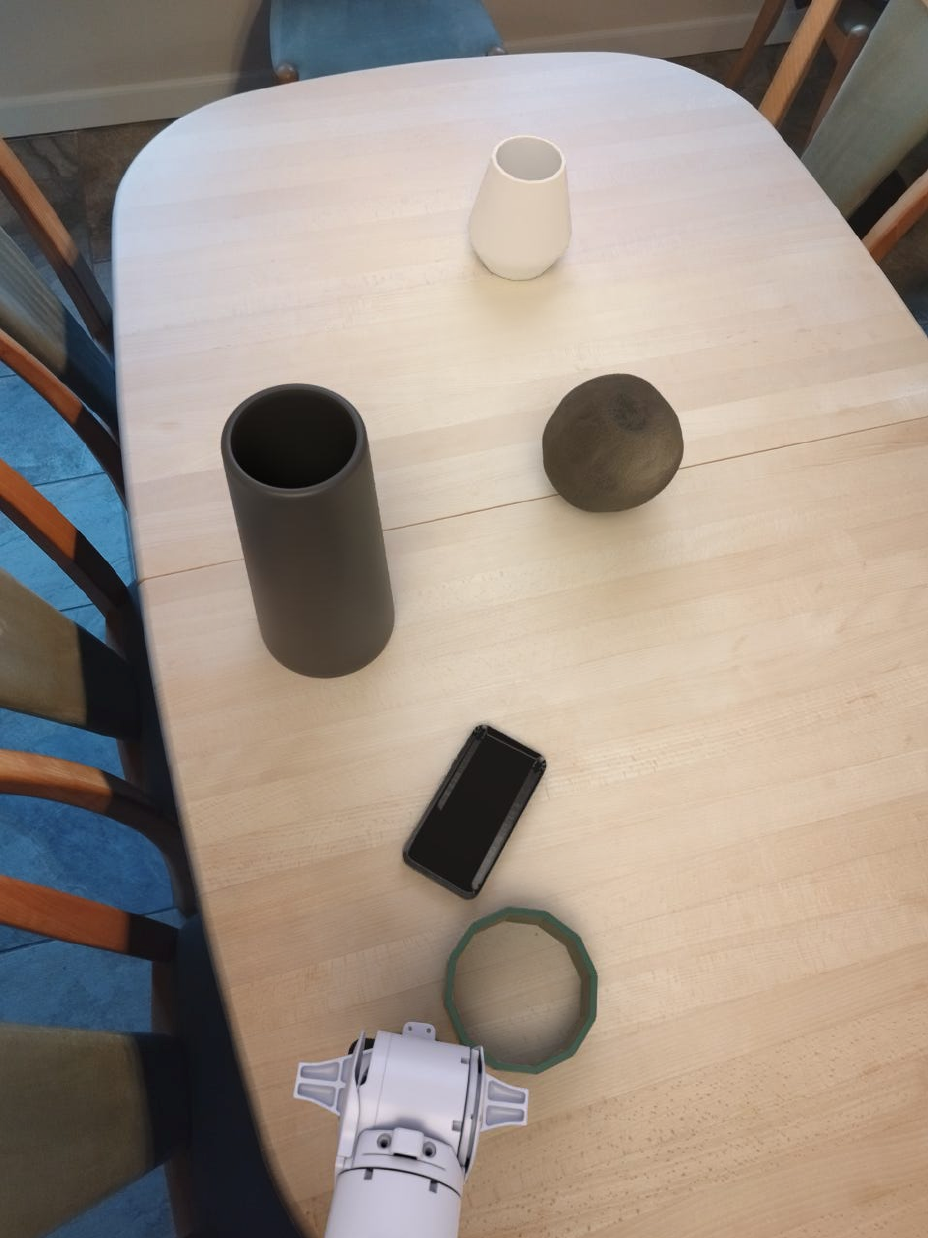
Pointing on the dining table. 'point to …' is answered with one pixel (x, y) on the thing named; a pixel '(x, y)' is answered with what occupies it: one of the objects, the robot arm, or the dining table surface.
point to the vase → (309, 528)
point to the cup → (522, 209)
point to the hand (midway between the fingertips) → (411, 1089)
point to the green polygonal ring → (579, 960)
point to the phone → (474, 812)
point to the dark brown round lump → (612, 444)
